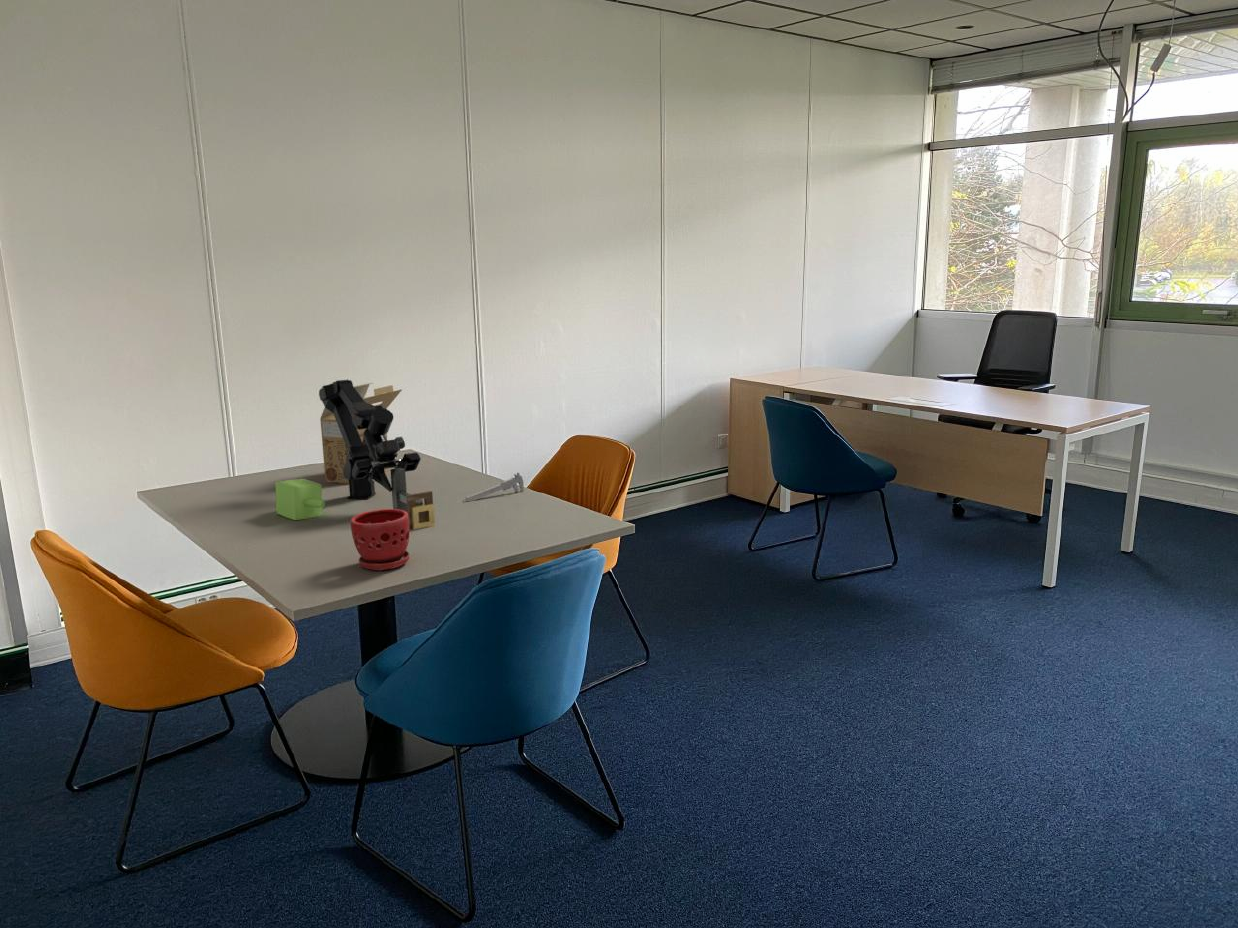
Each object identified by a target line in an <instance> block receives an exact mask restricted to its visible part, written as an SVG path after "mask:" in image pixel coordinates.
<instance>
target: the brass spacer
mask: <svg viewBox="0 0 1238 928" xmlns="http://www.w3.org/2000/svg"><path fill="white" fill-rule="evenodd" d="M423 511H427V521H421V522H419V515H418V512H423ZM411 518H412V528H411V529H412V530H413V531H414V530H415V531H416V530H419V529H424V528H430V527H435V526H436V523H435V506H434V503H433V504H432V503H430V504H424V503H423V505H419V506H413V507H411Z"/></svg>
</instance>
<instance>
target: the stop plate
mask: <svg viewBox="0 0 1238 928" xmlns="http://www.w3.org/2000/svg"><path fill="white" fill-rule="evenodd" d="M409 494H410V495H406V497H407V513H408V517H409V528H410V530H411V529H412V518H411V507H413V506H416V502H415V500H419V499H422V500H423V502H424V503H423V505H424V504H430V503H432V504H434V499H433V496H434V495H433V491H432V490H428V491H423V492H417V493H409ZM418 515H419V522H421V521H427V511H423V512H418Z"/></svg>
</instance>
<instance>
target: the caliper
mask: <svg viewBox="0 0 1238 928" xmlns="http://www.w3.org/2000/svg"><path fill="white" fill-rule="evenodd" d="M513 476H514V477H511V478H509V479H506V480H503V481H501V482H500V483H499V484H497V485H494V486H492V487H490V488H487V489H484V490H481V491H478V492H476V493H474V494H471V495H468V496H466V497H465V499H463V500H462V503H467V502H473V500H474V501H475V500H476V501H477V500H478V499H481V498H483V497H486V496H489V495H491V494H494V493H497V492H500V491H501V490H502V491H503V492H505V491H507V490H510V489H511V488H513V490H514V491H515V493H519V492H524V491H525V490H524V489H525V488H524V487H525V486H524V485H525V484H524V479H523V476H522V475H520V472H516V473H514V475H513ZM518 486H519V487H518ZM519 490H520V491H519Z"/></svg>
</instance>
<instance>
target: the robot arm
mask: <svg viewBox="0 0 1238 928" xmlns="http://www.w3.org/2000/svg"><path fill="white" fill-rule="evenodd" d="M318 397H319V400H320V401H321V402H322V404H323V406H324V408H327V409H328V410H329V411H331V412H332V413H333V414H334V416H335V419H336V421H337V424H338V427H339V429H340V432H341V434H342V437H343V439H344V442H345V444H346V447H347V450H348V454H347V457H346V464H345V466H344V469H343V474H344V477H345V478H347V479H349V484H348V490H349V495H348V496H347V499H349V500H350V499H358V500H359V499H360V500H367V499H370V498H372V497H373V496H375V495H376V489H375V488H376V487H375V482H376V483H377V484H379V485H381V486H382V487H383V488H385V490H387V491H388V492H390V493H392V486H391V482H390V480H389V478H388V477H387V474H386V472H385V471H384V469H388V468H389V469H395V468H403V469H405V473H406V472H413V471H415V470H417V469H418V466H419V465H420V462H421V460H422V459H421V456H420V454H419V453H418V452H415V451H414V452H408V453H407V452H406V453H404V455H403V456H402V458H399V459H396V458H397V457H398V452H400V451H401V450H402V449H404V448H405V447H406V443H405V440H404V438H403V436H397V437H395V438H394V439H388V438H387V439H386V437H385V434H387V435H388V433H389V431H390V428H391V425H392V423H393V421H394V414H393V412H391V411H390V410H389V409H388V408H387V409H385V408H383V407H382V405H379V404H378V405H379V406H375V405H373V404H368V403H366V402H365V401H364V400H363V398H362V397H361V396H360V394H359V393H358V392H357V390H356V389H355V388H354V383H353V381H352V380H351V379H341V380H340V379H339V380H335V381H333V382H332V383H329V384H327V385H322V386H321V388H320V389H319V392H318ZM349 409H350V410H349ZM350 411H351V412H352V415H351V413H350ZM357 429H358V430H359V429H366V430H365V431H364V433H363V442H366V445H364V444H363V443H362V440H361V438H360V435H359V433H358V430H357Z"/></svg>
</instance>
